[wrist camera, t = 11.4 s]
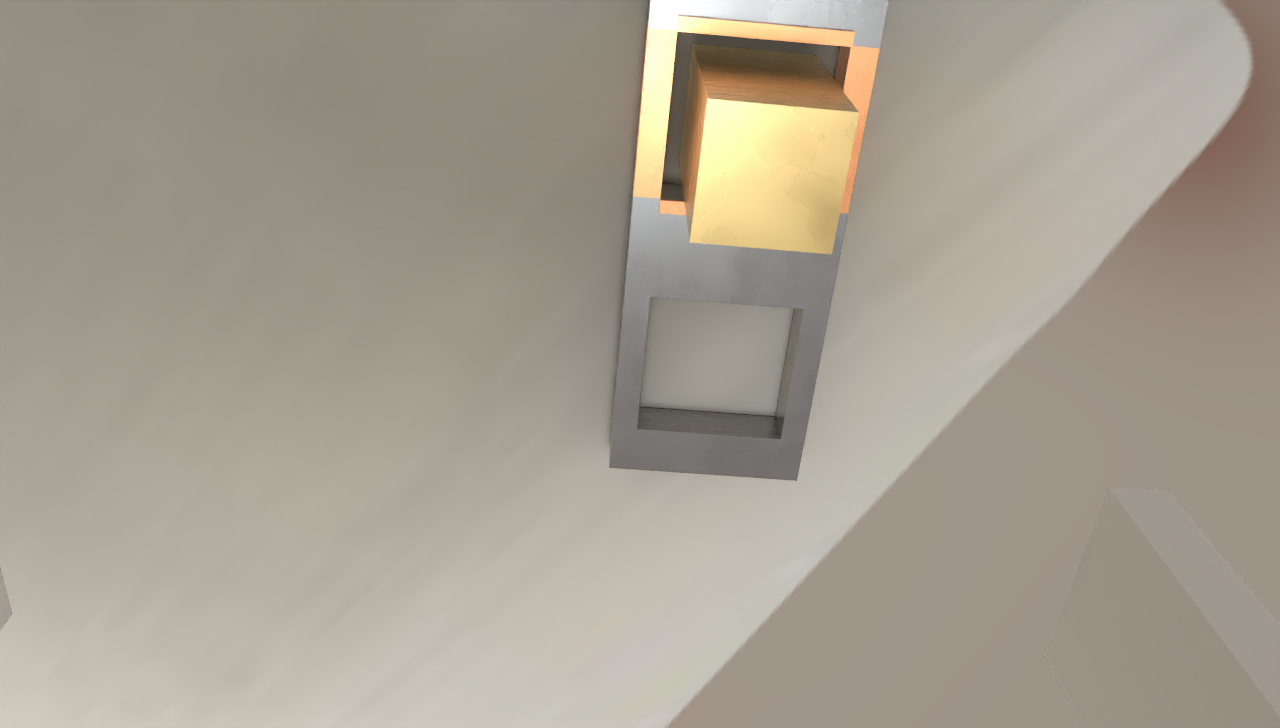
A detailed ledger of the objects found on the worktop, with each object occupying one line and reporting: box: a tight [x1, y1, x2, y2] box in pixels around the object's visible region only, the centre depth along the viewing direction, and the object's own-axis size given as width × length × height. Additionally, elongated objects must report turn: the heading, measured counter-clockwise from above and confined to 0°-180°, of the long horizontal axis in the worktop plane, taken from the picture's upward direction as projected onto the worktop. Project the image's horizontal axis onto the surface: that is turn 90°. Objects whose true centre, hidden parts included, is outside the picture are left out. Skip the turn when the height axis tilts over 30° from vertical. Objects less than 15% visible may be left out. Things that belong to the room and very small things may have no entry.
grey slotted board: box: [609, 0, 889, 481], centre depth 40 cm, size 8×20×2 cm, turn 175°
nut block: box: [679, 44, 859, 254], centre depth 35 cm, size 4×4×8 cm
